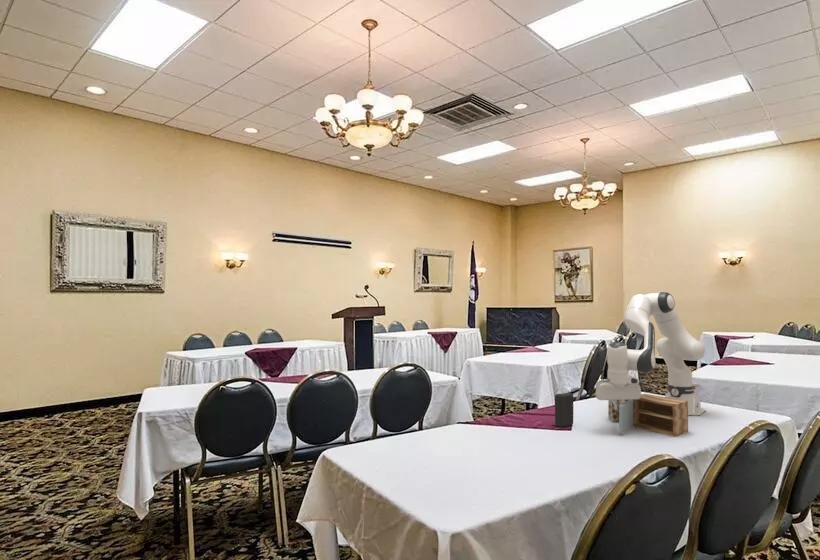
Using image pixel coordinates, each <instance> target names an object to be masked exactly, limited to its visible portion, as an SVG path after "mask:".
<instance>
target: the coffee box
mask: <svg viewBox="0 0 820 560" xmlns="http://www.w3.org/2000/svg"><path fill="white" fill-rule="evenodd" d="M607 401H608V406H607V407H608V412H607V413H608V416H607V417H608V418H607V419H608V420H609V421H610V422H611V423H619V410H615V409H614V404H613V403H612V400H607ZM627 401H628V400H625V402H627ZM620 402H621V401H619V400H617V402H616V404H617V405H619V404H620Z"/></svg>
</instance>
